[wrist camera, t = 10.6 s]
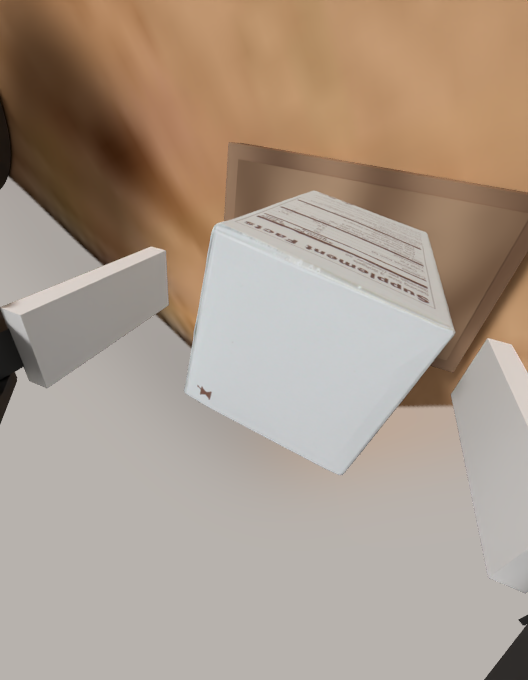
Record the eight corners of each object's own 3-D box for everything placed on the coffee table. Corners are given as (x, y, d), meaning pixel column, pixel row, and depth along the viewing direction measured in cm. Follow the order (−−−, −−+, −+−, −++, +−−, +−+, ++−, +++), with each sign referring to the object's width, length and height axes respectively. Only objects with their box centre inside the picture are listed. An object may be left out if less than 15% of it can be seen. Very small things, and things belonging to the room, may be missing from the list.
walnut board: (230, 290, 27) (219, 300, 25) (242, 143, 21) (227, 142, 19) (450, 357, 23) (453, 373, 21) (544, 195, 17) (560, 200, 15)
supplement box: (371, 332, 22) (339, 485, 12) (276, 289, 23) (175, 395, 13) (433, 231, 18) (467, 335, 8) (313, 183, 19) (204, 220, 9)
